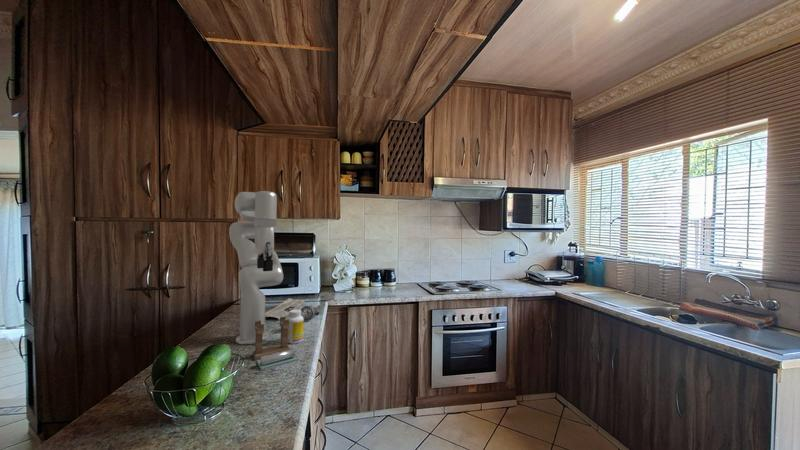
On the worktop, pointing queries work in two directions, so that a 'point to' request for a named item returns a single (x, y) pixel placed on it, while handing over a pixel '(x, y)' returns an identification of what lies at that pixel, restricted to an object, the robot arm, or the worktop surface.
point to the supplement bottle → (295, 327)
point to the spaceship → (310, 312)
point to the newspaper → (284, 308)
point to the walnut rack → (274, 349)
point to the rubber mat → (276, 363)
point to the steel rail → (277, 356)
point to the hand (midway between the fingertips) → (264, 269)
